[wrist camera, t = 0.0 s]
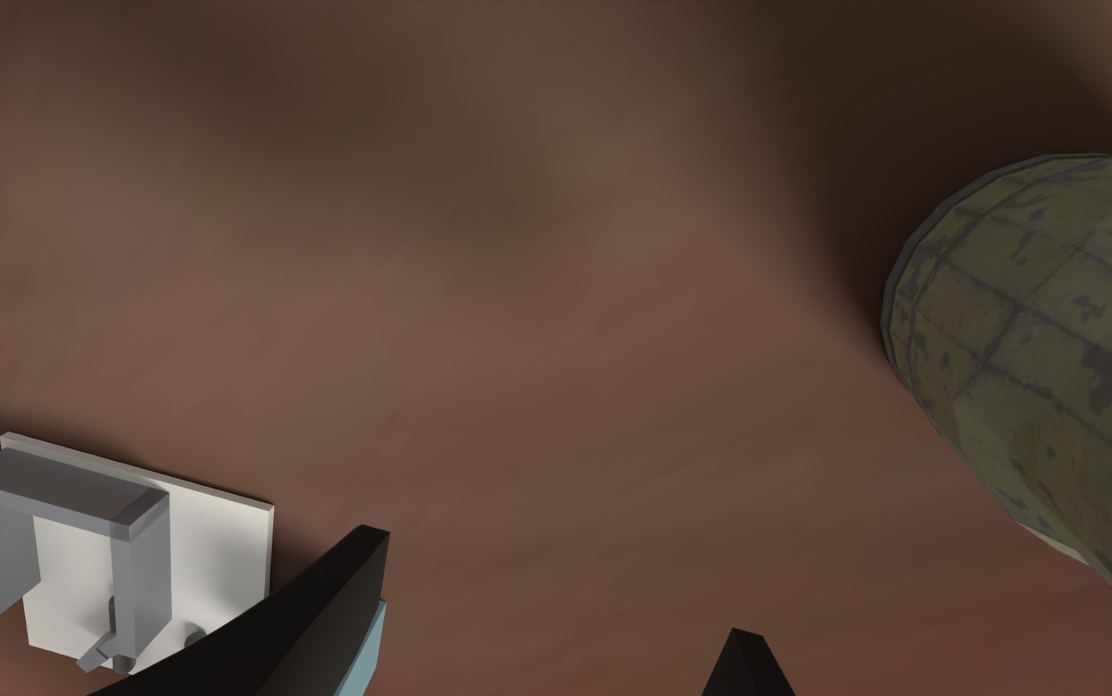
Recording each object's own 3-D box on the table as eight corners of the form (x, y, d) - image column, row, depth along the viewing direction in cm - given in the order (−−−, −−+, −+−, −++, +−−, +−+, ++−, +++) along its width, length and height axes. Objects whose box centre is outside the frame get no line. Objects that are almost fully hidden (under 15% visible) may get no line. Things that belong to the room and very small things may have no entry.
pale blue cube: (374, 676, 29) (311, 813, 23) (291, 652, 29) (208, 783, 24) (386, 601, 27) (320, 731, 22) (297, 576, 27) (209, 699, 22)
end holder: (178, 612, 29) (135, 658, 27) (32, 570, 29) (-23, 613, 27) (176, 486, 26) (128, 526, 24) (15, 442, 26) (-48, 476, 24)
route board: (261, 709, 31) (237, 749, 29) (37, 644, 31) (-1, 679, 29) (274, 505, 26) (245, 536, 24) (8, 431, 26) (-39, 457, 24)
